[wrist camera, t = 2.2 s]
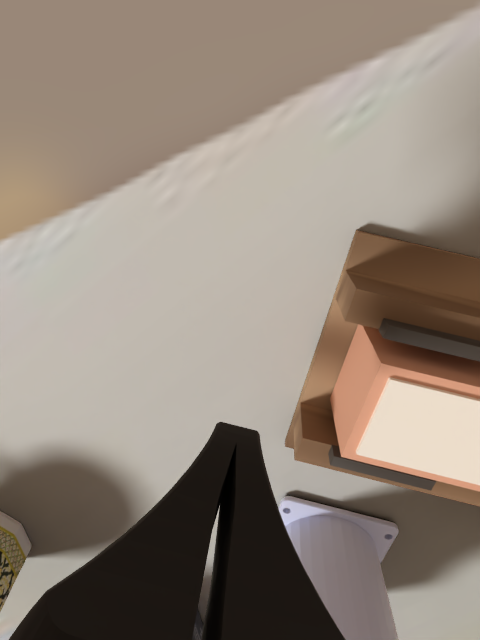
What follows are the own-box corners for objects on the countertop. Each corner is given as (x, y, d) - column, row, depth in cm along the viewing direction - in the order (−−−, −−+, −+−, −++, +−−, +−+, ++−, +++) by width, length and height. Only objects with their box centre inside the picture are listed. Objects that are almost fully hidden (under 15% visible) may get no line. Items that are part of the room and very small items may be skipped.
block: (451, 428, 20) (496, 498, 16) (330, 398, 20) (341, 460, 16) (495, 352, 18) (560, 409, 14) (359, 320, 18) (382, 365, 14)
